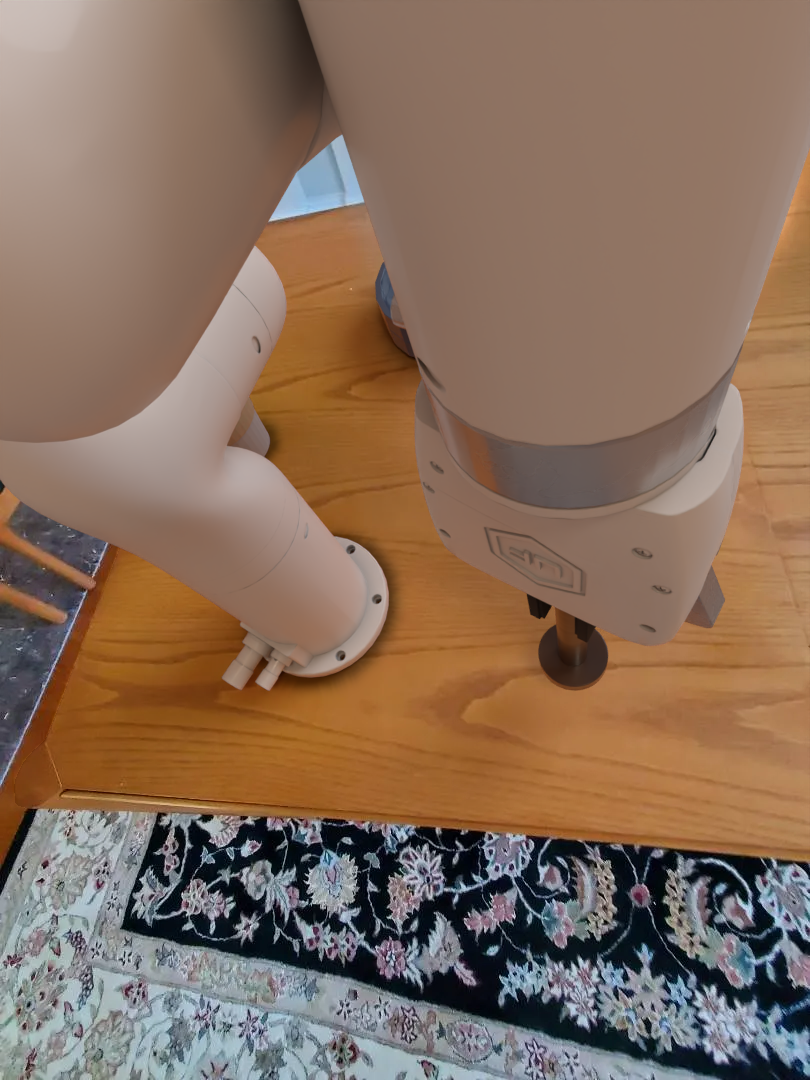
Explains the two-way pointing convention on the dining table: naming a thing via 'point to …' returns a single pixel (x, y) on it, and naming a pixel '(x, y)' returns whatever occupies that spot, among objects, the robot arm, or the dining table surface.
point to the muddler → (571, 655)
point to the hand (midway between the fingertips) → (572, 603)
